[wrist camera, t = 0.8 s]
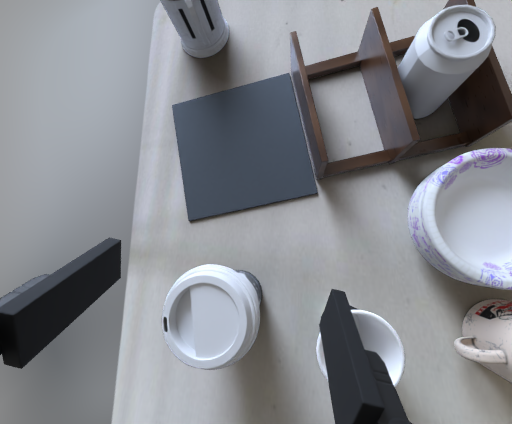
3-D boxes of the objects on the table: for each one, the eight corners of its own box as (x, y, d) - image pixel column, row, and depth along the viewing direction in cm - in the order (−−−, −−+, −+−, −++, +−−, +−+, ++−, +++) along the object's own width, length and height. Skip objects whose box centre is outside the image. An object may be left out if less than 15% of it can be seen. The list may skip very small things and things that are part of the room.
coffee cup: (218, 252, 39) (170, 253, 24) (279, 269, 37) (268, 282, 22) (200, 316, 38) (139, 357, 23) (263, 336, 36) (240, 396, 21)
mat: (317, 193, 38) (317, 192, 37) (189, 221, 40) (188, 220, 40) (289, 74, 41) (289, 72, 41) (173, 106, 44) (171, 105, 43)
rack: (471, 145, 35) (521, 116, 28) (316, 180, 38) (321, 162, 30) (431, 35, 39) (466, -20, 31) (291, 73, 41) (289, 32, 33)
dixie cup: (383, 334, 34) (424, 374, 23) (331, 364, 34) (348, 417, 23) (348, 281, 35) (371, 294, 25) (299, 310, 36) (300, 336, 25)
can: (448, 109, 37) (520, 43, 25) (397, 130, 37) (443, 74, 26) (424, 66, 38) (481, -16, 26) (375, 87, 39) (409, 16, 27)
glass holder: (219, 4, 45) (183, -114, 30) (247, 70, 42) (221, -24, 28) (175, 26, 46) (118, -79, 31) (199, 92, 43) (149, 11, 29)
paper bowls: (447, 146, 36) (489, 118, 28) (551, 220, 33) (631, 210, 25) (373, 226, 36) (394, 219, 28) (470, 307, 33) (524, 325, 25)
